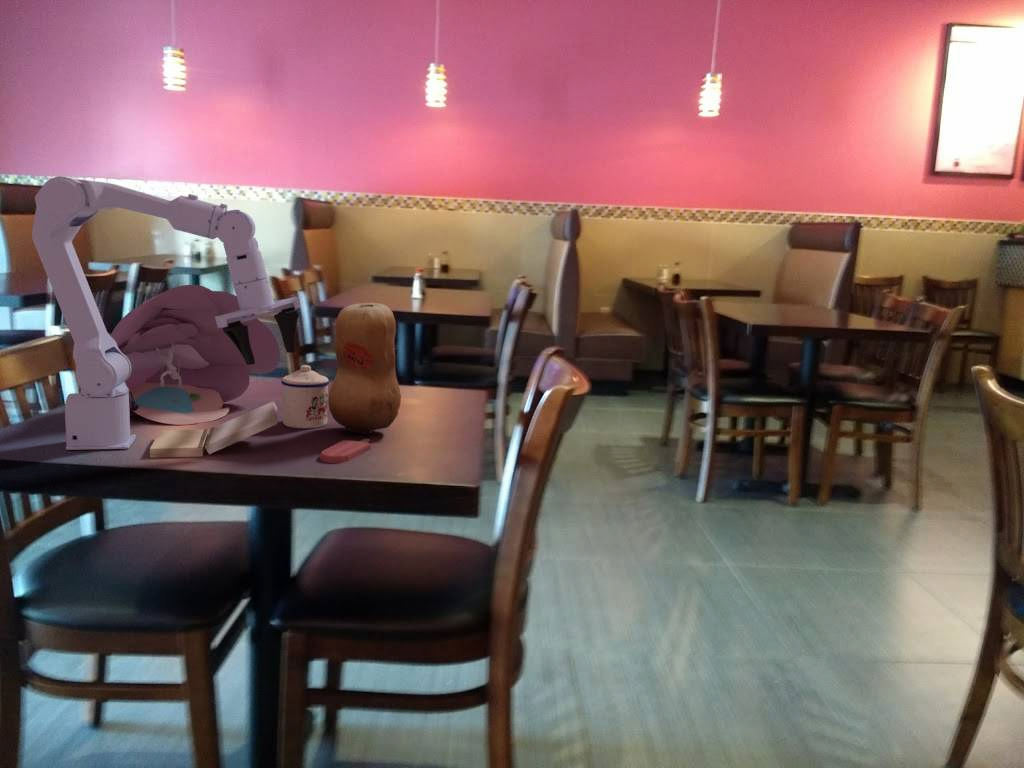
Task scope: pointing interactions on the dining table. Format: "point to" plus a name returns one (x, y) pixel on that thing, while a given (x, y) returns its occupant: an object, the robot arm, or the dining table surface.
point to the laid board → (179, 443)
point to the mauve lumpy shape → (188, 355)
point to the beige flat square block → (241, 427)
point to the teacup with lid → (305, 399)
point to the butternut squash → (365, 369)
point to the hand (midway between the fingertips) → (271, 358)
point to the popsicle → (344, 451)
